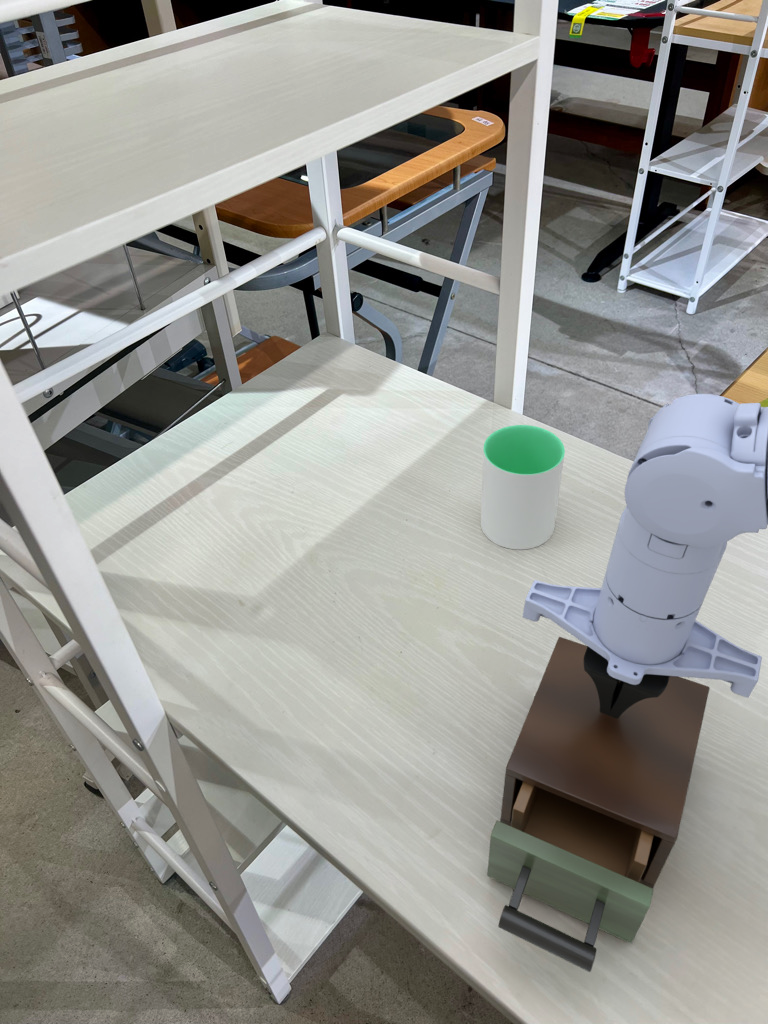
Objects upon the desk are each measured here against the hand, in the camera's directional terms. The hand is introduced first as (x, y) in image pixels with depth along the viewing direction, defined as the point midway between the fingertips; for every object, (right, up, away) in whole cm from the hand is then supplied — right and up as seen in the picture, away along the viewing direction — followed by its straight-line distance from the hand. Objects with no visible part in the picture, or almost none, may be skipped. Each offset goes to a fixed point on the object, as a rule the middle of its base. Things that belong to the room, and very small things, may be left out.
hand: (612, 704), depth 54 cm
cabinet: (+1, -8, +6) cm, 10 cm away
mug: (-2, +14, +30) cm, 33 cm away
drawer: (-3, -12, +1) cm, 12 cm away
